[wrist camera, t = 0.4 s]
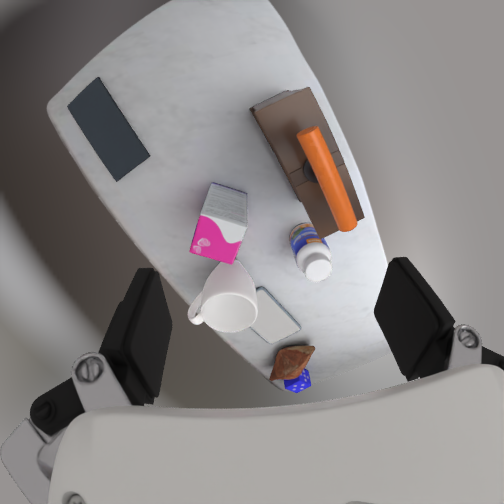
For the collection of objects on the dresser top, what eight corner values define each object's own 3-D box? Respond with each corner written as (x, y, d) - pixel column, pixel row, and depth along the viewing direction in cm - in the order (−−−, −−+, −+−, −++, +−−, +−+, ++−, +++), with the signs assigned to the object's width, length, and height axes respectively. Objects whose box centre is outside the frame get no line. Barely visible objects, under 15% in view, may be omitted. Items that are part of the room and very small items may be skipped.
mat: (68, 106, 30) (66, 106, 30) (99, 77, 29) (97, 76, 28) (117, 180, 38) (116, 181, 37) (150, 155, 36) (149, 156, 36)
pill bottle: (313, 216, 43) (330, 247, 35) (324, 241, 46) (342, 275, 37) (283, 231, 44) (293, 265, 36) (296, 255, 47) (308, 291, 39)
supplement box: (210, 181, 39) (200, 211, 29) (248, 192, 40) (251, 227, 31) (199, 214, 42) (188, 253, 32) (235, 225, 43) (234, 266, 34)
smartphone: (262, 287, 49) (302, 329, 56) (262, 284, 50) (302, 326, 57) (227, 307, 52) (270, 345, 58) (227, 304, 52) (270, 342, 59)
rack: (249, 108, 34) (254, 112, 23) (287, 90, 32) (309, 86, 22) (298, 200, 41) (319, 239, 31) (332, 183, 40) (364, 217, 30)
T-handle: (271, 123, 32) (293, 140, 20) (292, 113, 31) (326, 124, 19) (304, 187, 37) (337, 237, 25) (323, 177, 36) (365, 223, 24)
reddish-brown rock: (271, 381, 63) (281, 399, 53) (254, 357, 62) (262, 372, 52) (313, 354, 65) (329, 367, 55) (298, 329, 64) (312, 339, 54)
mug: (238, 239, 45) (238, 283, 35) (262, 274, 49) (268, 320, 39) (181, 270, 48) (169, 316, 38) (208, 300, 52) (203, 346, 42)
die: (297, 364, 65) (300, 380, 61) (308, 370, 67) (311, 385, 63) (282, 373, 67) (284, 388, 63) (294, 378, 69) (296, 393, 65)
